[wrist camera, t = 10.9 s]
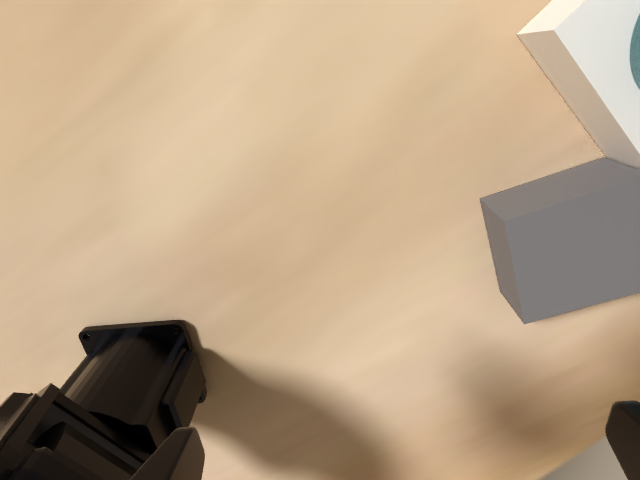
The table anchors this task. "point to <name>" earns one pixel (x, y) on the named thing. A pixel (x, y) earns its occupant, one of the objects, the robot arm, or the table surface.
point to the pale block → (592, 68)
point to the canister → (635, 53)
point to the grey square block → (566, 239)
